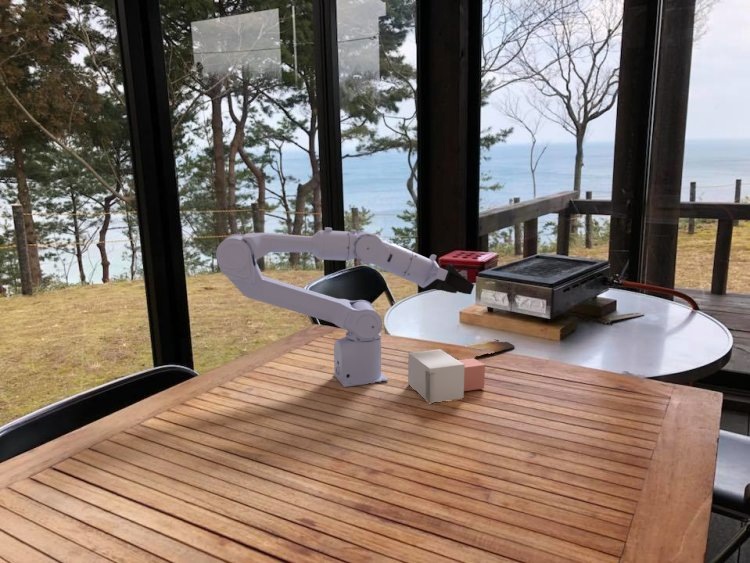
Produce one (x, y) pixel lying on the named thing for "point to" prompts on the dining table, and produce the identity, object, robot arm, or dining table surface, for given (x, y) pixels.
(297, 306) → the robot arm
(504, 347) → the parchment
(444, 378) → the off-white grooved box
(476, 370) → the pink cuboid
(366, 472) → the dining table surface
